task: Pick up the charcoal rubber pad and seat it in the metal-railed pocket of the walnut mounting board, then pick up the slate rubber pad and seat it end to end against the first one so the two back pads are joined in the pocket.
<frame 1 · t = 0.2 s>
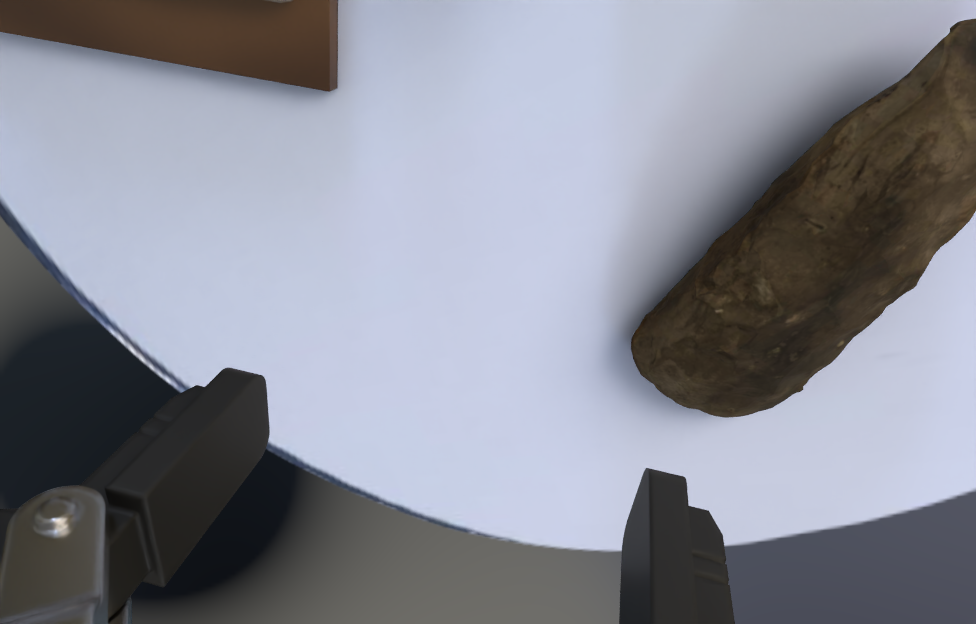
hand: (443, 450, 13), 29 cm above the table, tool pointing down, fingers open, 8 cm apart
stone: (789, 237, 38), on the table
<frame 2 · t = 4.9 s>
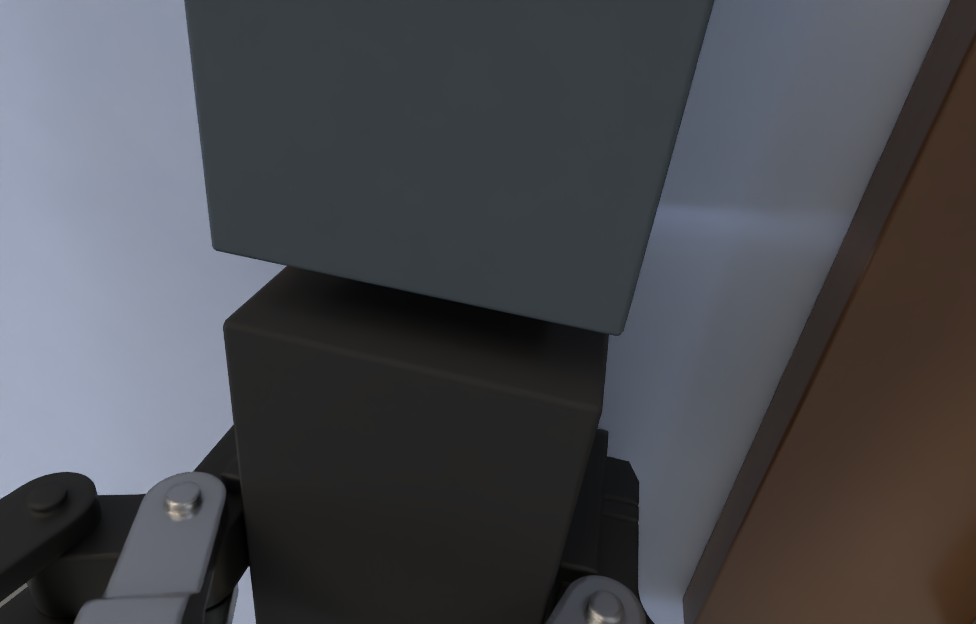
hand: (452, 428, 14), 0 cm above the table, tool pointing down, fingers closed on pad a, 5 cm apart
pad a: (458, 415, 14), on the table, touching gripper
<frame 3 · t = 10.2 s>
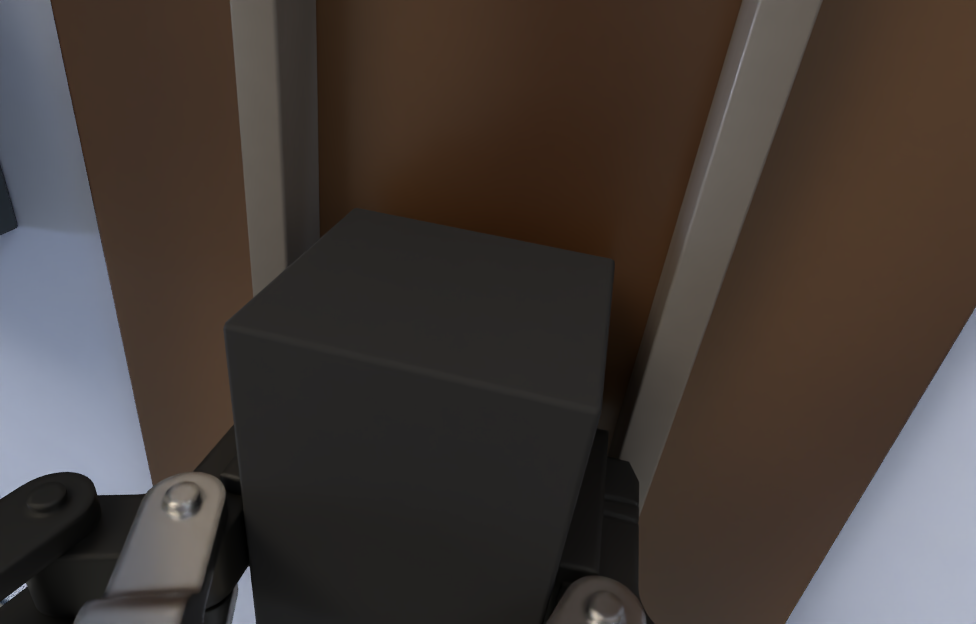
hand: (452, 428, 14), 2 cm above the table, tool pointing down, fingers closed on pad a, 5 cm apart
mount board: (500, 190, 13), on the table
pad a: (458, 416, 14), point 2 cm above the table, touching gripper
when the fingers open (4 cm above the table, at t = 19.3 s): pad a drops 2 cm, resting on mount board.
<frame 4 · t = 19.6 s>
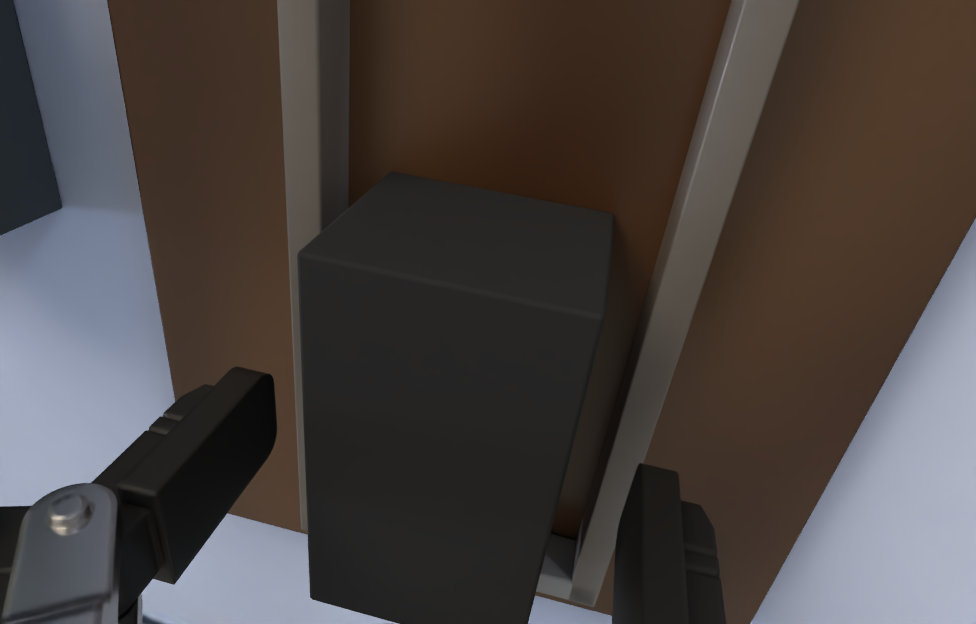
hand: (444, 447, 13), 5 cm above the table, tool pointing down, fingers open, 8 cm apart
mount board: (514, 169, 15), on the table
pad a: (477, 360, 16), point 1 cm above the table, touching mount board
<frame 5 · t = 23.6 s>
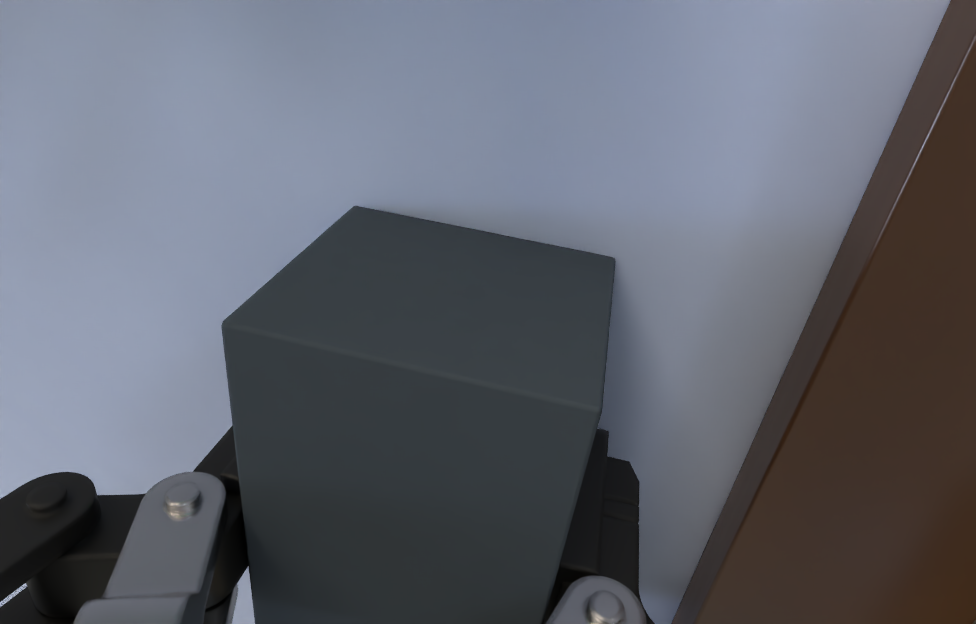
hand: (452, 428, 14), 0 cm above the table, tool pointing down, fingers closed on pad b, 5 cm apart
pad b: (458, 416, 14), on the table, touching gripper
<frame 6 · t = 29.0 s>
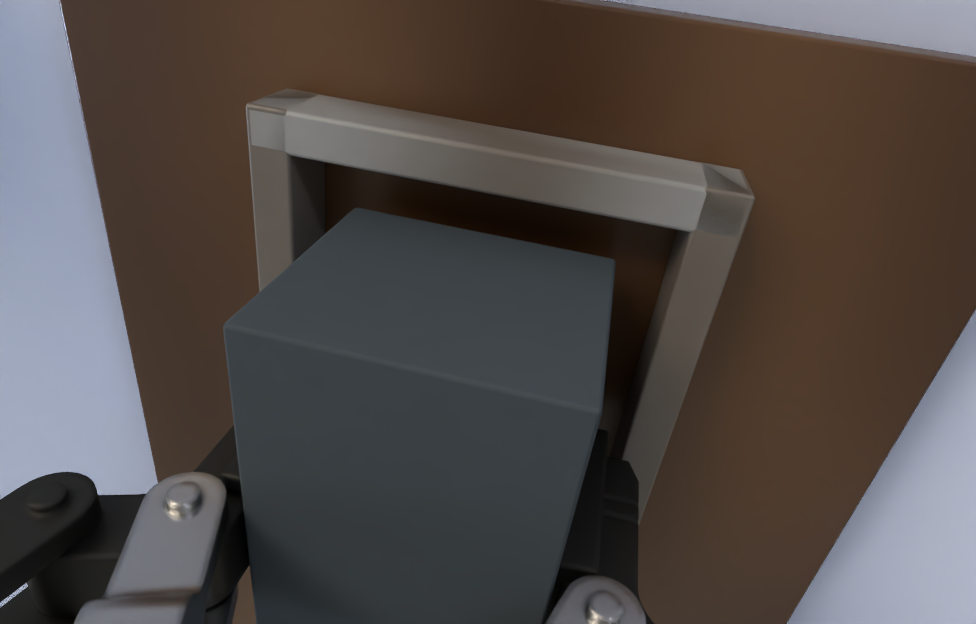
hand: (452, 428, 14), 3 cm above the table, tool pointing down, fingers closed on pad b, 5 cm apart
mount board: (462, 493, 18), on the table
pad b: (459, 417, 14), point 2 cm above the table, touching gripper
when the fingers open (4 cm above the table, at t = 38.0 s): pad b drops 2 cm, resting on mount board.
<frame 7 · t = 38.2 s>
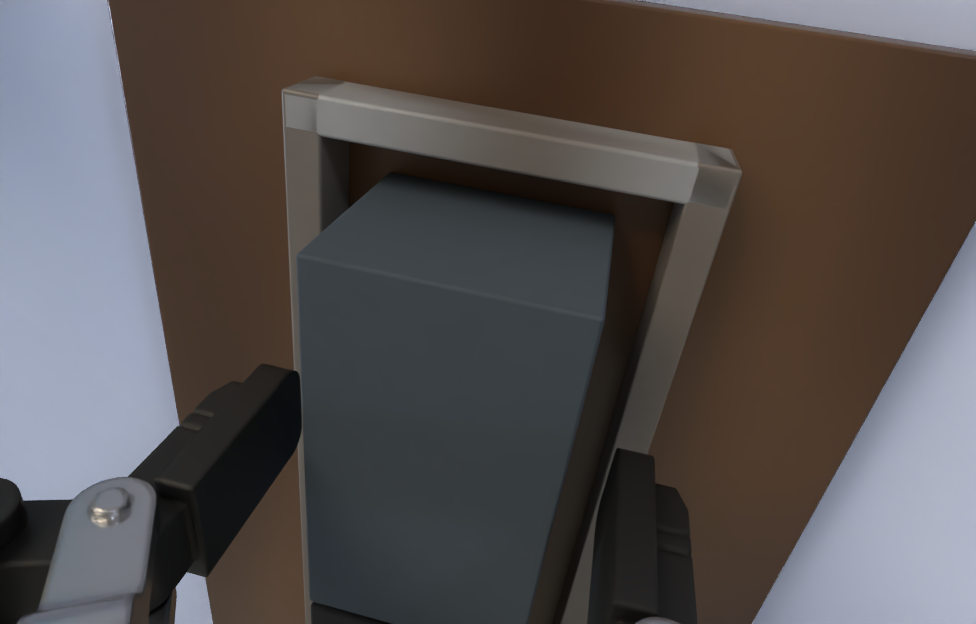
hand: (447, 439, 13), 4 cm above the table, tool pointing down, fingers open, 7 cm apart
mount board: (471, 461, 19), on the table
pad a: (446, 589, 21), point 1 cm above the table, touching mount board
pad b: (477, 361, 16), point 1 cm above the table, touching mount board
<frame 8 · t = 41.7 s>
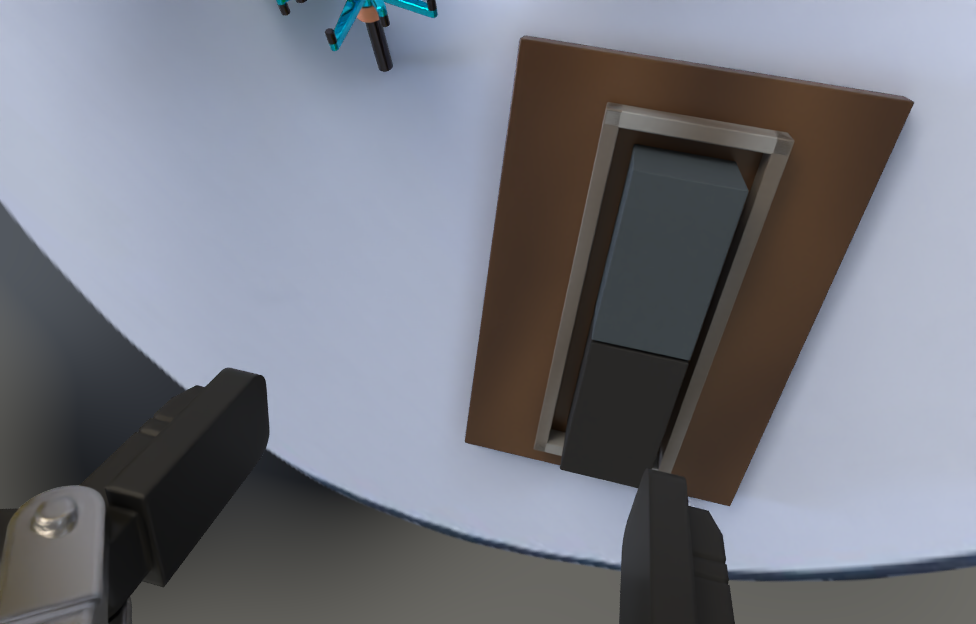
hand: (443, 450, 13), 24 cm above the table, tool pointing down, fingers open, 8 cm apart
mount board: (641, 299, 37), on the table
pad a: (621, 373, 38), point 1 cm above the table, touching mount board
pad b: (661, 235, 34), point 1 cm above the table, touching mount board
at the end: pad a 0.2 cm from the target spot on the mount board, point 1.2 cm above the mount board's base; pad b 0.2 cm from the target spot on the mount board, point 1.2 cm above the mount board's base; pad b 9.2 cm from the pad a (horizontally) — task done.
